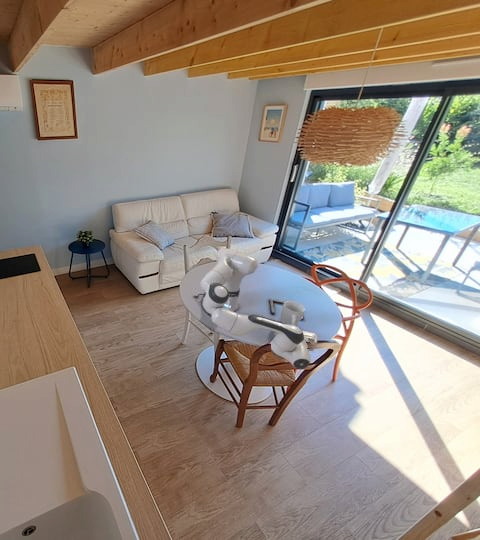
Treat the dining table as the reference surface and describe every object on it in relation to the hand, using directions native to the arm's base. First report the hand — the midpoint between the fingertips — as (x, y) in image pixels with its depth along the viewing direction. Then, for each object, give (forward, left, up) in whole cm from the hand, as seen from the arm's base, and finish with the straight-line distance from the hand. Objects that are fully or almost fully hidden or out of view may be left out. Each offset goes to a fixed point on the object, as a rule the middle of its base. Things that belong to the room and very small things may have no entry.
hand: (293, 325), depth 161 cm
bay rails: (0, +24, -6) cm, 25 cm away
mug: (0, +9, -7) cm, 11 cm away
